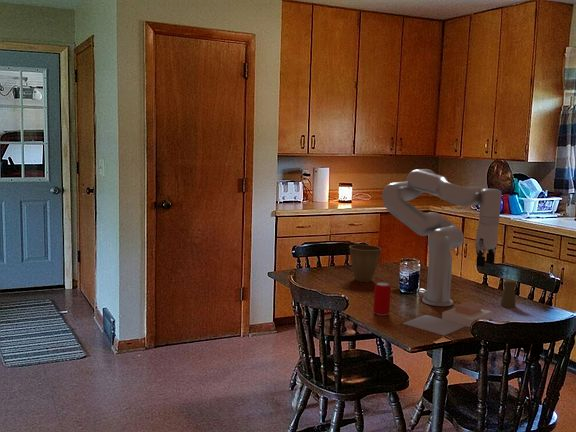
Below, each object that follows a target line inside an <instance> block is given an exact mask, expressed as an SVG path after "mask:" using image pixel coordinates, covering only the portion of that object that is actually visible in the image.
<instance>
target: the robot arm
mask: <svg viewBox="0 0 576 432" xmlns="http://www.w3.org/2000/svg"><path fill="white" fill-rule="evenodd" d="M424 193H426V194H429V195H432V196H435V197H438V198H440V200H443V201H445V202H448V203H450V204H454V205H456V206H460V207H471V206H479V215H478V225H477V230H476V235H475V243H474V244H475V245H474V247H475V252H476V254H475V255H476V261H475V262H476V263H475V265H476V266H477V267H480V268H484V267H485V264H490V265H494V264H495V258H496V257H495V256H496V250H497V246H498V236H499V225H500V217H501V204H502V190H500V189H499V188H498V189H497V188H487V187H486V188H485V187H482V186H477V185H476V186H474V185H473V186H461V185H458V184H454V183H452V182H449V181H448V178H447V177H446V176H444V175H440V174H437V173H436V172H434V171H433V170H432V169H429V168H428V169H427V168H422V169H421V168H418V169H413V170H411V171H409V173H408V175H407V177H406V181H398V182H397V181H396V182H390V183H389V184H386V185H385V186H384V188H383V190H382V194H381V198H382V202H383V205H384V207H385V209H386V210H387V211H388V212H389V213H390V214H391V215H392V216H393V217H395V218H396V219H398V220H399V221H400V222H401V223H403V224H404V225H405V226H407V227H408V228H409V229H411V231H413V232H415V233H416V234H417V235H419V236H421V237H423V236H424V237H425V236H428V238H427V246H428V247H427V248H428V269H427V280H426V281H427V282H426V289H424V288H419V291H418V294H420V295H422V296H423V297H422V298H421V299H422V302H423V303H424V304H426V305H429V306H433V307H434V306H435V307H450V306H452V305H454V300H452V299H451V285H452V284H451V282H452V274H453V273H452V272H453V270H452V269H453V256H452V251H451V250H453V249H456V248H459V247H461V246H462V245H463V243H464V239H465V237H464V232H463V231H462V230H461V228H460V227H459V226H457V225H456V224H455V223H453V222H452V221H450V219H447V218H446V217H445V216H444V215H442V214H441V213H438V212H435V211H429V212H424V211H421V210H420V209H418V208H417V207H416V205H413V204H412V203H409V201H411V200H414V199H416V198H417V197H419V196H421V195H422V194H424ZM485 255H486V256H485Z"/></svg>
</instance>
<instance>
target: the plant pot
mask: <svg viewBox="0 0 576 432" xmlns="http://www.w3.org/2000/svg"><path fill="white" fill-rule="evenodd" d="M381 252H382V248H381V247H380V246H376V245H370V244H352V245H349V256H350V264H351V270H352V274H353V276H354V277H353V278H354V279H355V281H357V282H360V283H370V282H371V281H372V279H373V277H374V274H375V272H376V270H377V266H378V264H379V261H380V256H381Z"/></svg>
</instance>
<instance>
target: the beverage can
mask: <svg viewBox="0 0 576 432" xmlns="http://www.w3.org/2000/svg"><path fill="white" fill-rule="evenodd" d="M391 292H392V291H391V286H390V284H389V283H387V282H378V283H376V284H375V286H374V294H373V295H374V296H373V313H374V314H375V315H377V316H380V317H381V316H382V317H383V316H387V315H389V314H390V306H391Z"/></svg>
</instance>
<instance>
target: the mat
mask: <svg viewBox="0 0 576 432" xmlns="http://www.w3.org/2000/svg"><path fill="white" fill-rule="evenodd" d="M402 324H403V325H405V326H408V327H411V328H416V329H419V330H422V331H425V332H429V333H432V334H436V335H440V336H443V337H445V336H447V335H449V334H451V333H454V332H456V331H459V330H461V329H463V328H465V327H466V325H463V324H459V323H455V322H452V321H448V320H444V319H442V318H440V317H436V316H432V315H428V314H424V315H421V316H418V317H416V318H415V317H414V318H413V319H410V320H407V321H405V322H403V323H402Z"/></svg>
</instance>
